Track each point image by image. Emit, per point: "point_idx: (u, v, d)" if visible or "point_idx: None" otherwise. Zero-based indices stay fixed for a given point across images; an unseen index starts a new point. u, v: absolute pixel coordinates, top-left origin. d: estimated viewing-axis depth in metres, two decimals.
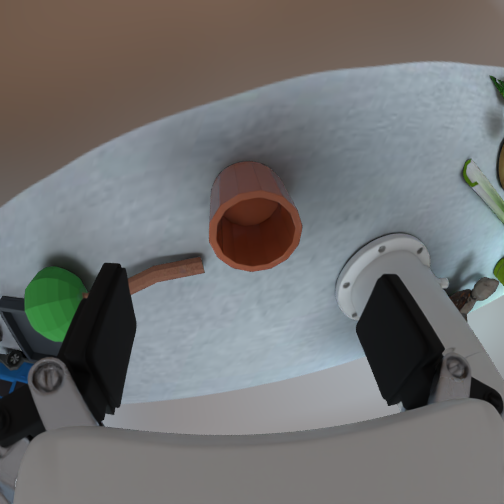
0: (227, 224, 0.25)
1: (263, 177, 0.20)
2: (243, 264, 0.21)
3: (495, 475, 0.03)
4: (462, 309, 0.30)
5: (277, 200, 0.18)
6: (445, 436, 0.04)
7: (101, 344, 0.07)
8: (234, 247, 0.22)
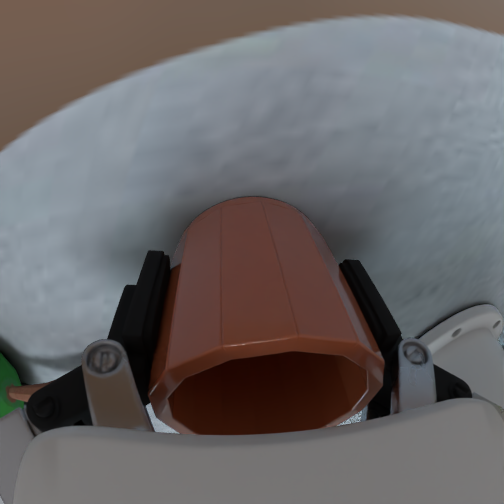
0: None
1: (295, 257, 0.08)
2: None
3: (495, 475, 0.03)
4: None
5: (341, 353, 0.06)
6: (445, 436, 0.04)
7: (155, 325, 0.08)
8: (220, 391, 0.10)
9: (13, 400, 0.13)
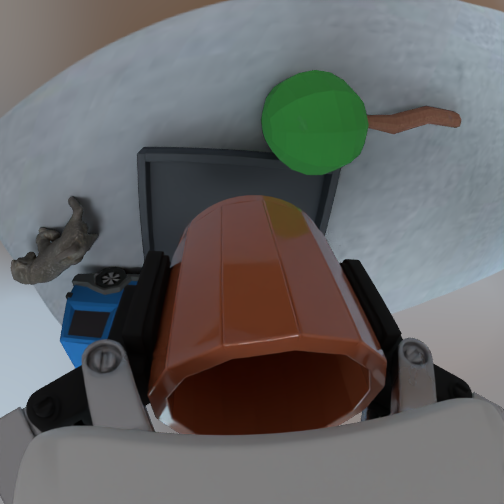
0: None
1: (296, 255, 0.07)
2: None
3: (495, 475, 0.03)
4: None
5: (343, 352, 0.06)
6: (445, 436, 0.04)
7: (155, 325, 0.08)
8: (221, 391, 0.10)
9: None
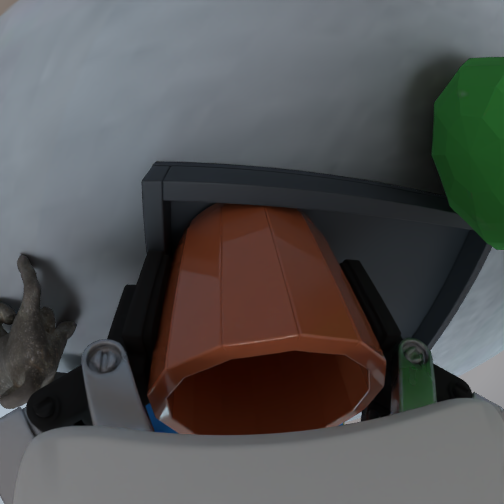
0: None
1: (295, 255, 0.07)
2: None
3: (495, 475, 0.03)
4: None
5: (343, 352, 0.06)
6: (445, 436, 0.04)
7: (155, 325, 0.08)
8: (220, 391, 0.10)
9: None
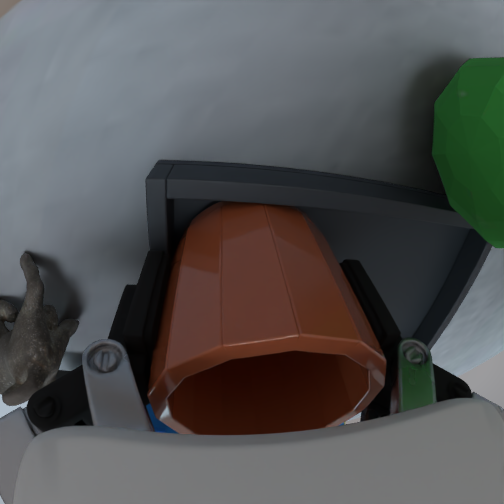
0: None
1: (296, 255, 0.07)
2: None
3: (495, 475, 0.03)
4: None
5: (343, 352, 0.06)
6: (445, 436, 0.04)
7: (155, 325, 0.08)
8: (220, 391, 0.10)
9: None
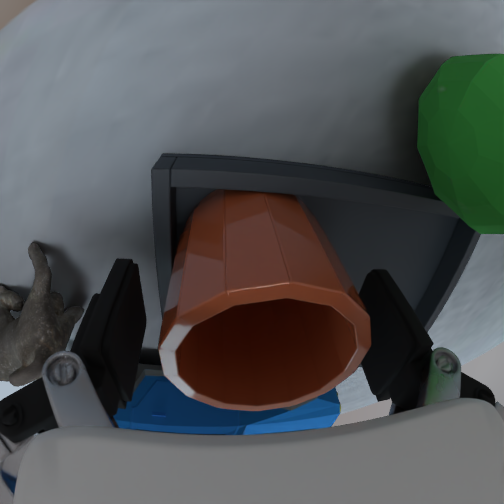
0: None
1: (289, 226, 0.09)
2: (239, 403, 0.09)
3: (495, 475, 0.03)
4: None
5: (329, 303, 0.07)
6: (445, 436, 0.04)
7: (116, 337, 0.07)
8: (222, 358, 0.11)
9: None
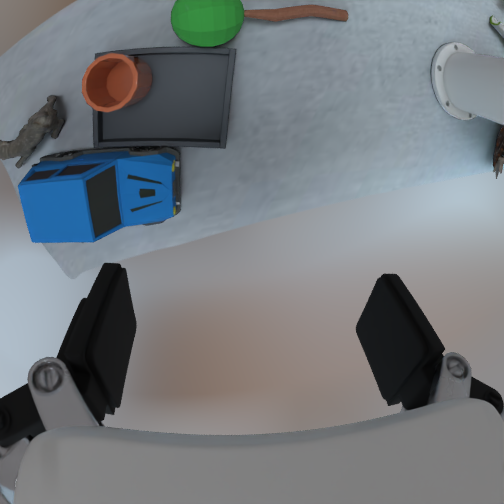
0: (110, 98, 0.27)
1: None
2: (102, 106, 0.24)
3: (495, 475, 0.03)
4: None
5: (119, 57, 0.21)
6: (445, 436, 0.04)
7: (101, 344, 0.07)
8: (104, 103, 0.25)
9: (243, 14, 0.23)
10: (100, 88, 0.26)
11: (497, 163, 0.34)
